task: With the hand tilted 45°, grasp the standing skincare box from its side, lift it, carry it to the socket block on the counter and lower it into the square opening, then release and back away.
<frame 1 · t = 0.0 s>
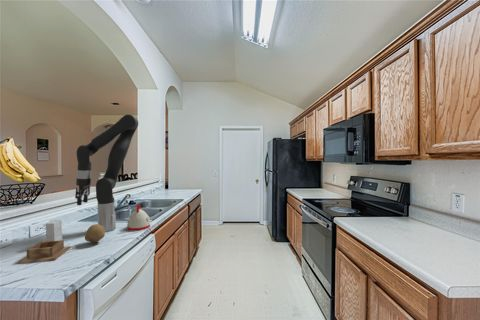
hand: (82, 203, 144), 17 cm above the worktop, tool pointing down, fingers open, 8 cm apart
skincare box: (54, 244, 124), on the worktop
kitchen timer: (138, 227, 153), on the worktop
natural sponge: (96, 243, 126), on the worktop
socket: (46, 255, 110), on the worktop
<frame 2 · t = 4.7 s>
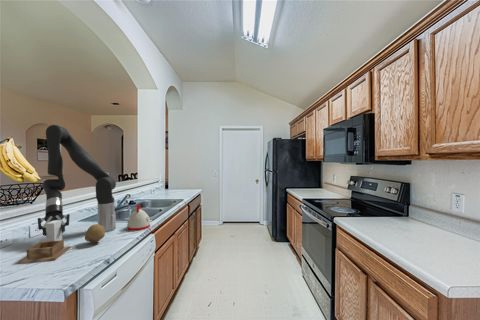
hand: (54, 233, 123), 6 cm above the worktop, tool tilted 45°, fingers closed on skincare box, 6 cm apart
skincare box: (54, 244, 124), on the worktop, touching gripper
everything else where it was.
when the fingers open (8 cm above the worktop, at t = 10.4 s): skincare box drops 1 cm, resting on socket.
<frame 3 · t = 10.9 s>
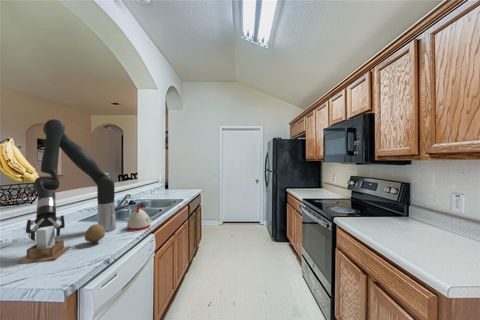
hand: (45, 237, 109), 9 cm above the worktop, tool tilted 45°, fingers open, 8 cm apart
skincare box: (46, 253, 110), point 1 cm above the worktop, touching socket
everything else where it was.
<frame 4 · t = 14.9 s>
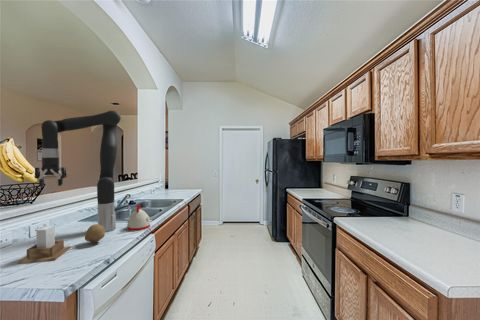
hand: (51, 185, 130), 30 cm above the worktop, tool pointing down, fingers open, 8 cm apart
nothing on the worktop moved.
at the end: skincare box 0.2 cm off-centre on the socket, point 0.8 cm above the socket's base; skincare box tilted 0°; the gripper is holding nothing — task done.
